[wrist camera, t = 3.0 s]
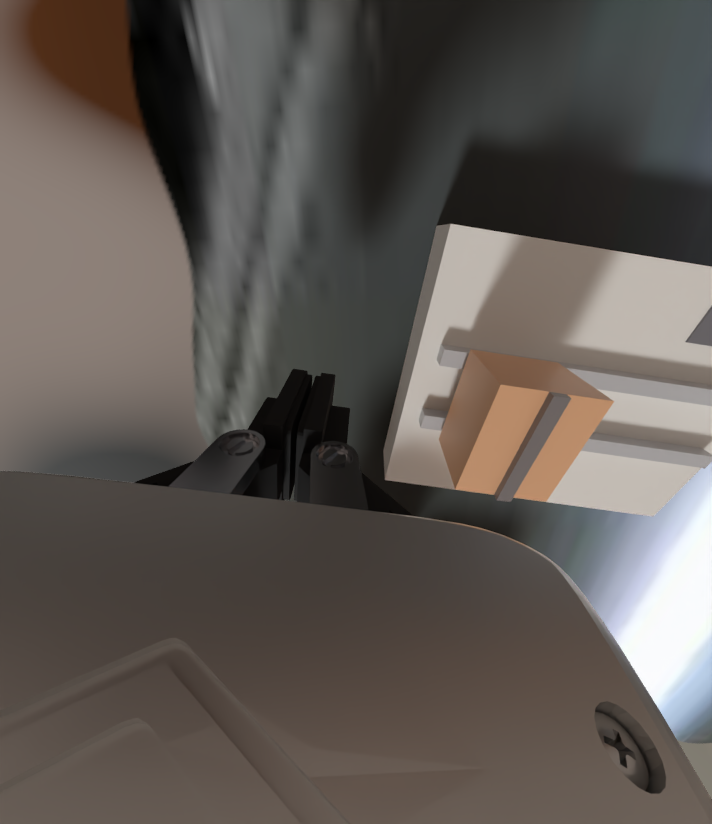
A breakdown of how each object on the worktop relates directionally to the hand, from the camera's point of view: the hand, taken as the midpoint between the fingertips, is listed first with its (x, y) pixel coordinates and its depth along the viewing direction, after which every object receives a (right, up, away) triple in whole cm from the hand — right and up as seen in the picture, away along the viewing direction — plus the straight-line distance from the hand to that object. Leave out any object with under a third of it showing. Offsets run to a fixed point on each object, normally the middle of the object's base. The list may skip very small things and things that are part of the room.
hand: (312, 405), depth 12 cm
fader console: (+14, +2, +6) cm, 15 cm away
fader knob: (+8, +1, +3) cm, 9 cm away
